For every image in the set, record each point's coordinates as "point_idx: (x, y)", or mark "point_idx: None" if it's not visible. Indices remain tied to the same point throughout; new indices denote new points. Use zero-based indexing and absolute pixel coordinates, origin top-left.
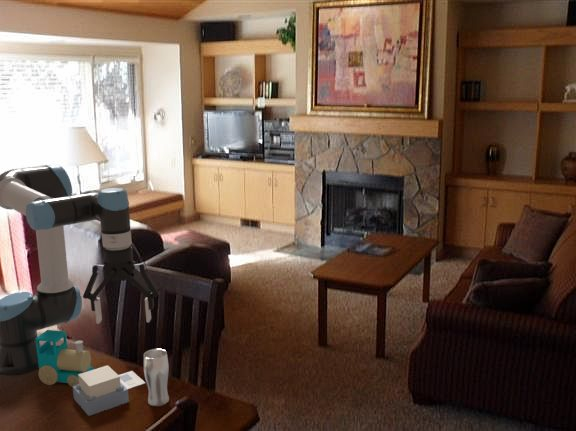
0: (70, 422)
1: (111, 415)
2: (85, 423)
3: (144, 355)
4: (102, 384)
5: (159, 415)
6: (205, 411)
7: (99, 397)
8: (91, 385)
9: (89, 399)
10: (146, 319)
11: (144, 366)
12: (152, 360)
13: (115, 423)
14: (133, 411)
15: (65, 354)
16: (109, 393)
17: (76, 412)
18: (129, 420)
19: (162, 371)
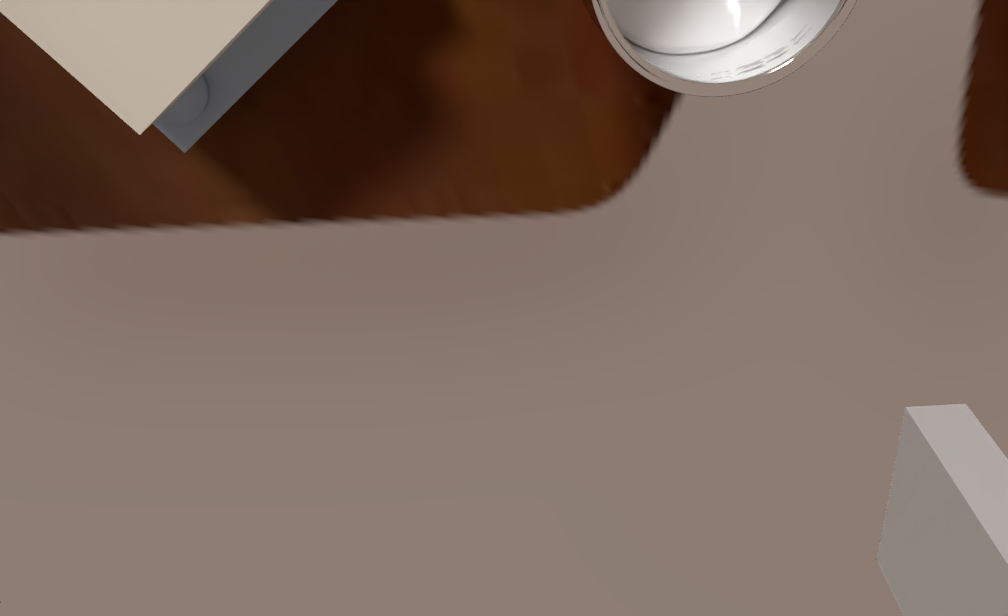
0: (140, 189)
1: (361, 104)
2: (239, 196)
3: (604, 7)
4: (217, 55)
5: None
6: (996, 30)
7: (231, 69)
8: (149, 119)
9: (179, 123)
10: (903, 610)
11: (595, 23)
12: (713, 93)
13: (423, 189)
14: (492, 50)
15: None
16: (280, 7)
17: None
18: (499, 155)
19: (773, 23)
